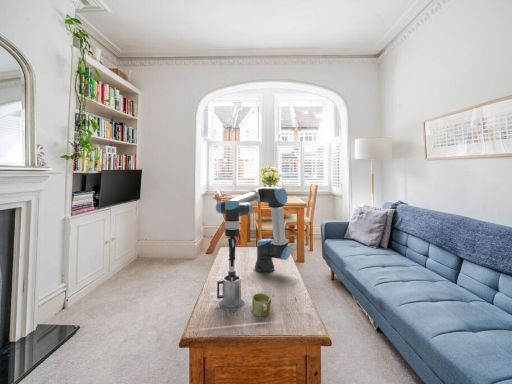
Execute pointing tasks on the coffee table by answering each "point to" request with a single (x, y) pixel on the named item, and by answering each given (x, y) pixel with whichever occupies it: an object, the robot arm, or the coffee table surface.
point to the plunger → (231, 274)
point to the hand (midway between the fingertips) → (231, 271)
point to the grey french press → (230, 291)
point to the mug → (261, 304)
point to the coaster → (231, 308)
